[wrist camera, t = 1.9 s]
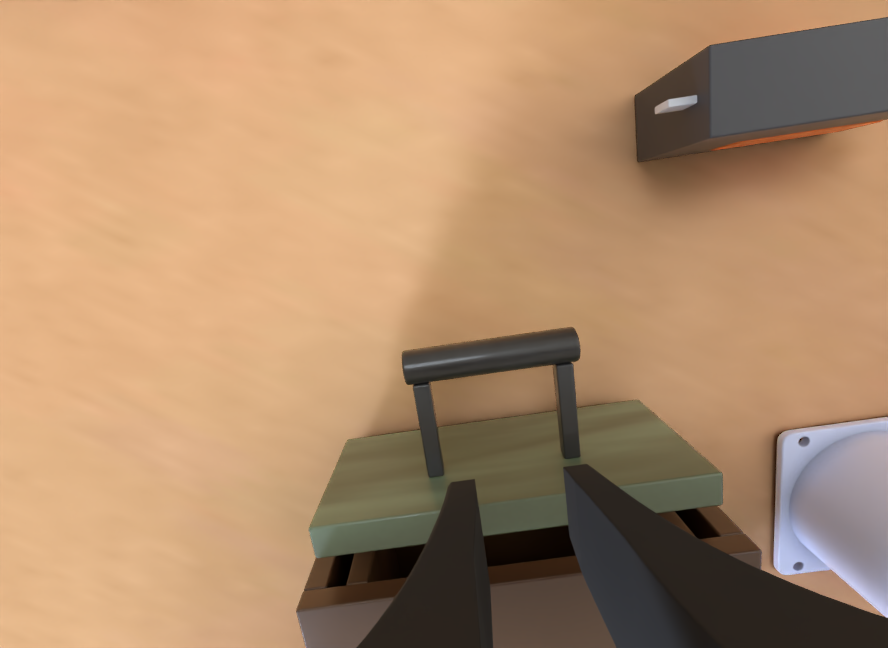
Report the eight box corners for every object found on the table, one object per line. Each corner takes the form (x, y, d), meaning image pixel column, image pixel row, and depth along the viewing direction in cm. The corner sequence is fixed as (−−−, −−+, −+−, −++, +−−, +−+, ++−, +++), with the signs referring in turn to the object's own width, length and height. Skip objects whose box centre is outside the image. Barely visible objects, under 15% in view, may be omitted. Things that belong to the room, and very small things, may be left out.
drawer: (325, 339, 19) (272, 390, 13) (633, 294, 18) (723, 326, 12) (396, 670, 23) (381, 824, 17) (649, 638, 22) (724, 784, 17)
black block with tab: (833, 63, 17) (988, -2, 12) (829, 134, 18) (975, 99, 13) (611, 97, 17) (678, 47, 13) (615, 167, 18) (680, 145, 13)
